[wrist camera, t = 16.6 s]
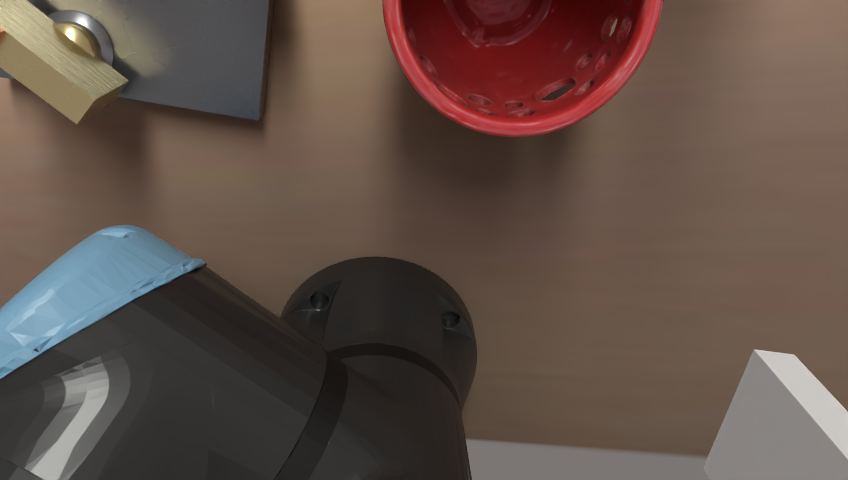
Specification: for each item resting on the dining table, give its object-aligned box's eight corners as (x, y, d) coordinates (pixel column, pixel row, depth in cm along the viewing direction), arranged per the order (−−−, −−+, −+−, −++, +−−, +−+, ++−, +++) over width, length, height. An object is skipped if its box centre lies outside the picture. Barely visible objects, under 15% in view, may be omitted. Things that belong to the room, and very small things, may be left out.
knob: (139, 69, 41) (97, 92, 35) (110, 108, 42) (64, 136, 36) (34, -15, 39) (-29, -5, 33) (5, 28, 40) (-61, 45, 34)
